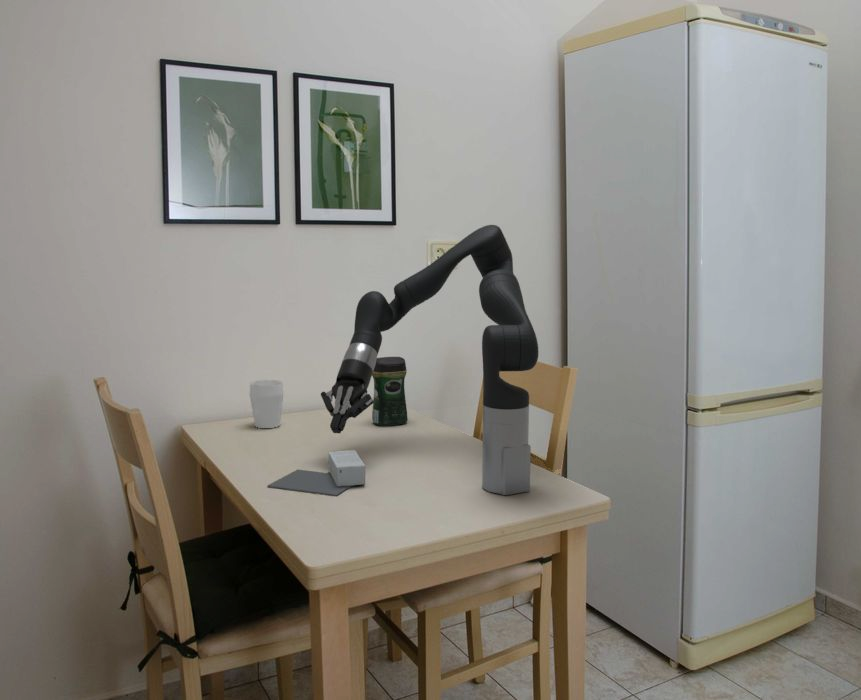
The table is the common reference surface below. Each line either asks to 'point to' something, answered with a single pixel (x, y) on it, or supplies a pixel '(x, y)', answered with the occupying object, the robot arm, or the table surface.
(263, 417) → the cup
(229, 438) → the table surface
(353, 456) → the skincare box
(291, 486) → the mat
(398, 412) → the coffee jar
